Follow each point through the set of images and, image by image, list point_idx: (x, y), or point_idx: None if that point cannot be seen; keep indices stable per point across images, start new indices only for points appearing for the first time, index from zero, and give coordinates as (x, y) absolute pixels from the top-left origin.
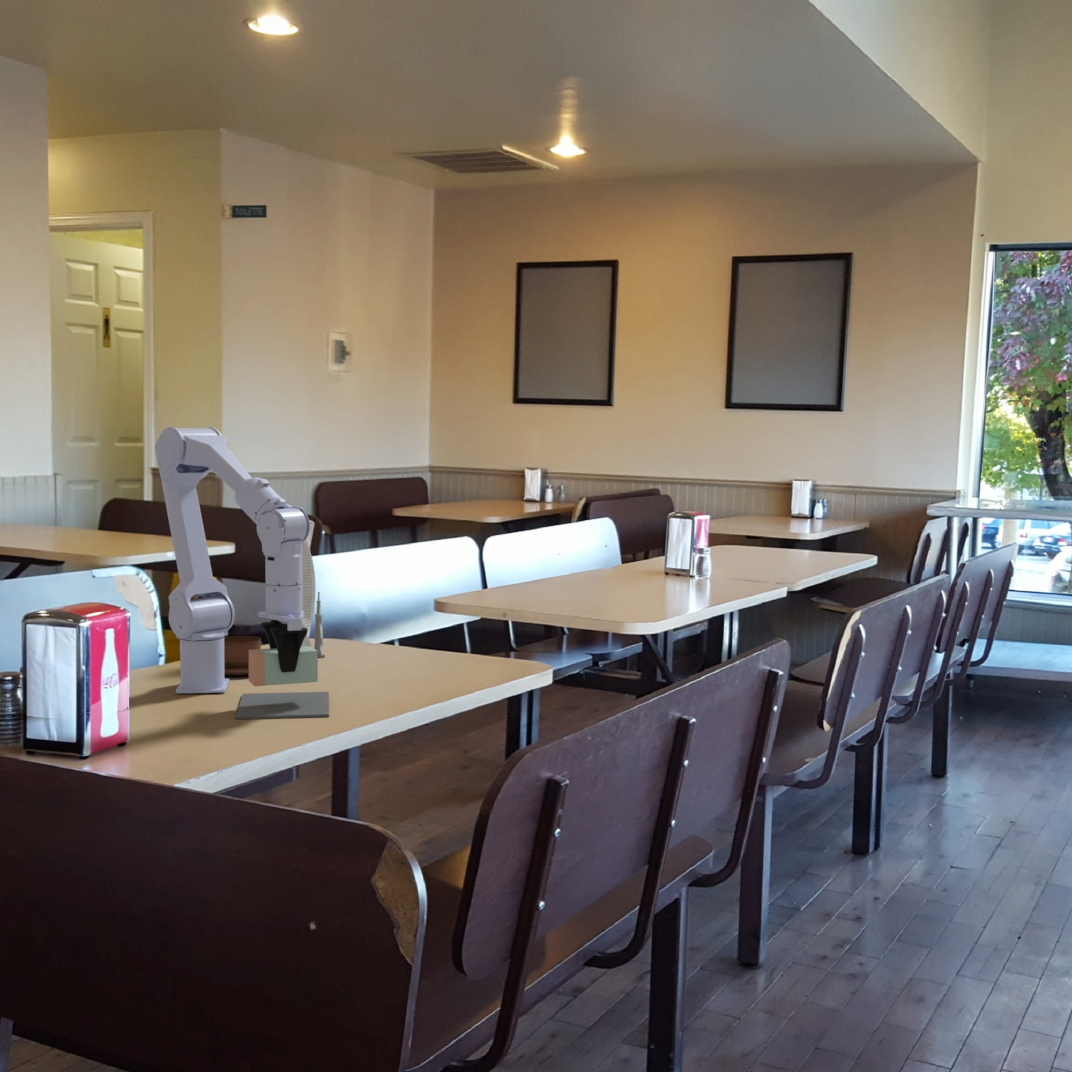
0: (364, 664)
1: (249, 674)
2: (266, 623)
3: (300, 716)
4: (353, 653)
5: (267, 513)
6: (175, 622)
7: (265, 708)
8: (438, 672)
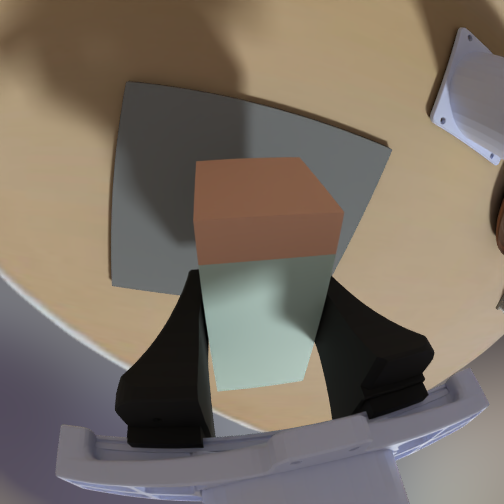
0: (442, 344)
1: (293, 166)
2: (399, 368)
3: (112, 234)
4: (484, 332)
5: None
6: None
7: None
8: None
